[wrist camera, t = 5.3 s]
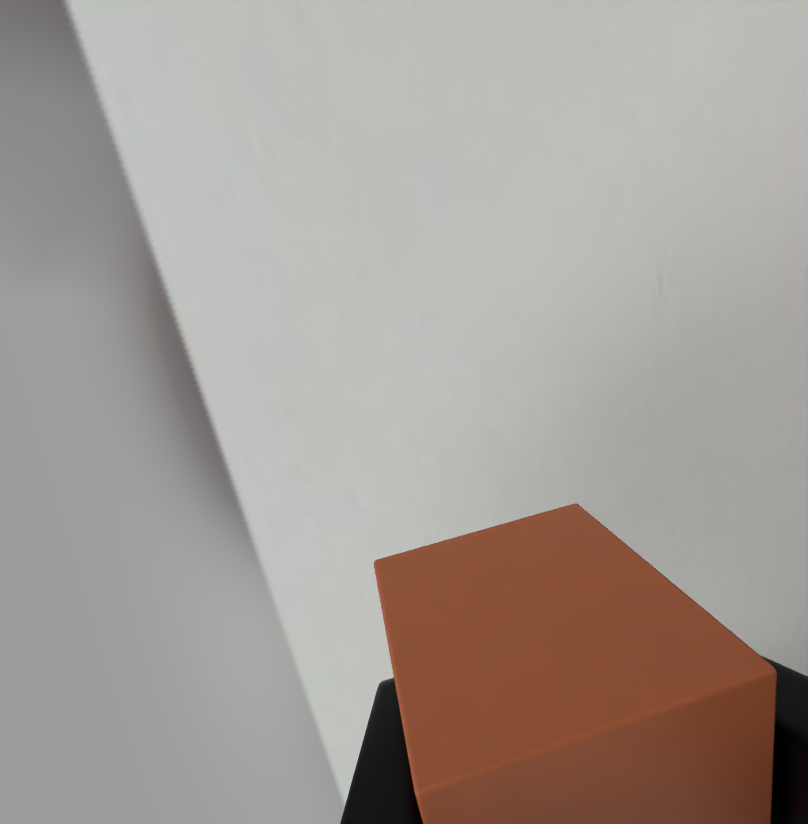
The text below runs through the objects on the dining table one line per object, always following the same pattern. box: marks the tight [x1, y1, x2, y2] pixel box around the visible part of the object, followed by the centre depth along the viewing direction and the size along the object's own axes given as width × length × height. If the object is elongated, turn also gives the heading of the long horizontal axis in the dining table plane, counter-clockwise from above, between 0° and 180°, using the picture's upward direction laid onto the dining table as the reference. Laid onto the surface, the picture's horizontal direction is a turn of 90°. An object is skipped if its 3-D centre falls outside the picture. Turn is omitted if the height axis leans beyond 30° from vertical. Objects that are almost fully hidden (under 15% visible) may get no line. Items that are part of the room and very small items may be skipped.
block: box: [374, 504, 777, 824], centre depth 7 cm, size 4×4×4 cm
